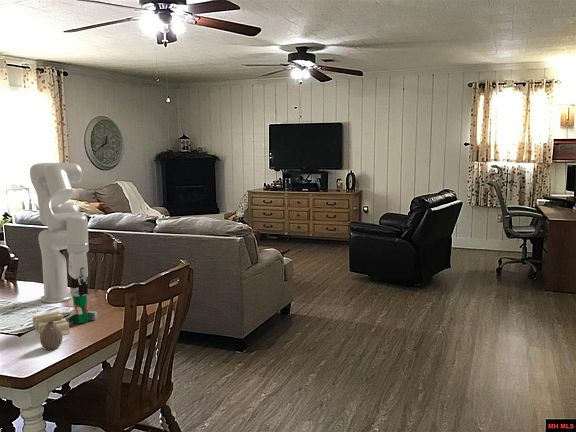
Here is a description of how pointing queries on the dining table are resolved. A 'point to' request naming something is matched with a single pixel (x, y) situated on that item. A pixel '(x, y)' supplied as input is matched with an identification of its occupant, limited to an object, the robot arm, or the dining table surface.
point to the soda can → (80, 308)
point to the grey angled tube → (90, 316)
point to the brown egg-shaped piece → (51, 336)
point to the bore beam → (55, 317)
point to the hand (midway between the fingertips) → (79, 291)
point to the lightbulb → (73, 291)
